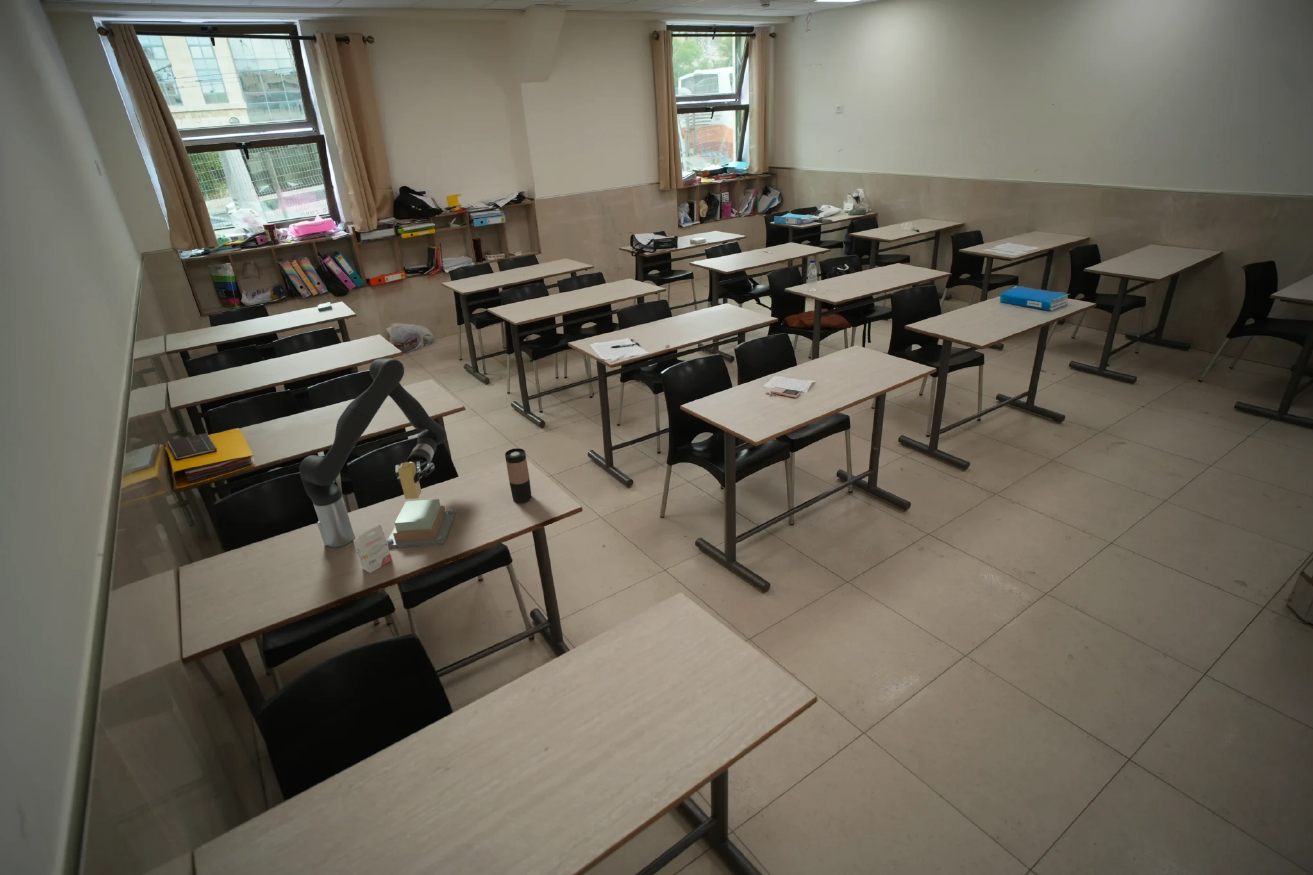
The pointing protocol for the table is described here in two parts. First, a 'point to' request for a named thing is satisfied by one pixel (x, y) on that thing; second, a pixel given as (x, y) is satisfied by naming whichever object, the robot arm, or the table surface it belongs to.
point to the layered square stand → (421, 524)
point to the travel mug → (518, 475)
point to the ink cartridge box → (372, 549)
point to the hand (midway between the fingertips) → (407, 481)
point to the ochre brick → (409, 480)
